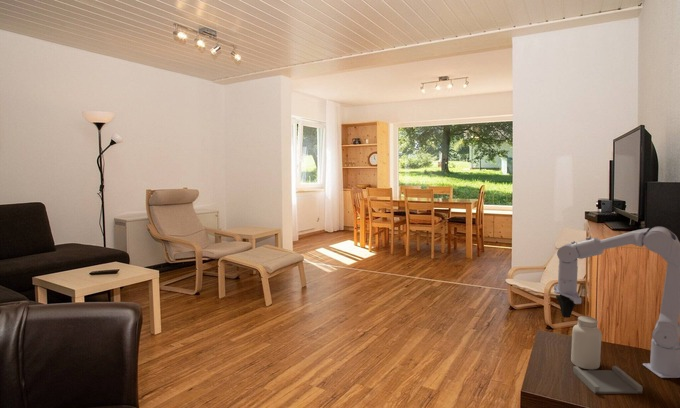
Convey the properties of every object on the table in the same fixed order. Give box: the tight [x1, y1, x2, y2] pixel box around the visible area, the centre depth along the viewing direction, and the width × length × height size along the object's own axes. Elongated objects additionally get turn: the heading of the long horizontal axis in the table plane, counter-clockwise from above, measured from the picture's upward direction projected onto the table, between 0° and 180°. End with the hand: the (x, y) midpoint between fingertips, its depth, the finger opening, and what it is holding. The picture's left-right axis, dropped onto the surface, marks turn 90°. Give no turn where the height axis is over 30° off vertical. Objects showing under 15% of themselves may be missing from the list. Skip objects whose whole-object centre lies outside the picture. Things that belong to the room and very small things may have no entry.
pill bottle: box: [570, 315, 603, 370], centre depth 131 cm, size 8×8×15 cm
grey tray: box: [572, 365, 643, 395], centre depth 121 cm, size 13×12×2 cm
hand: (566, 316), depth 143 cm, fingers closed
